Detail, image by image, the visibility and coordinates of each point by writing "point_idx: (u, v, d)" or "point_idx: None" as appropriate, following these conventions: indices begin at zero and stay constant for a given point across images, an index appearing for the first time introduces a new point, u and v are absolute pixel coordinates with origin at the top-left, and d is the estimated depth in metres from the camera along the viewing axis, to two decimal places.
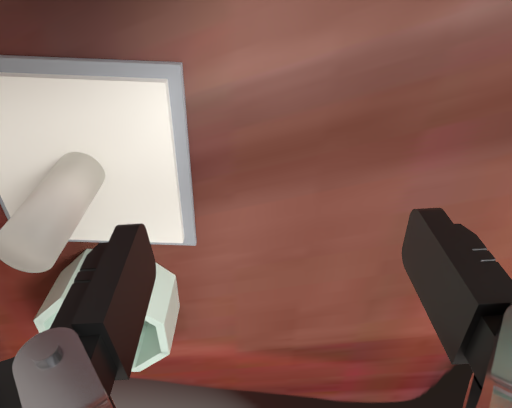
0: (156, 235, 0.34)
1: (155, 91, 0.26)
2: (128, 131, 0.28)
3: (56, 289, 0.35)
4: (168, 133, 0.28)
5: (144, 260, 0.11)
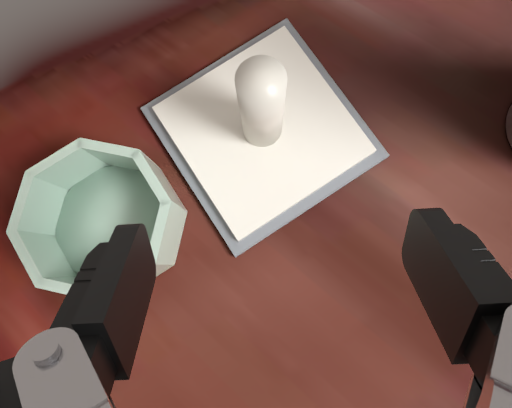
0: (231, 213, 0.33)
1: (366, 147, 0.34)
2: (322, 144, 0.34)
3: None
4: (341, 171, 0.34)
5: (144, 260, 0.11)
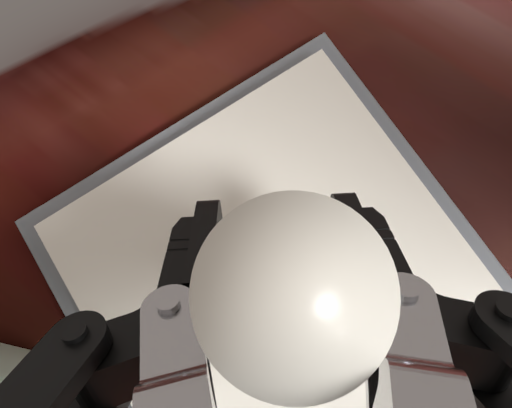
0: None
1: None
2: None
3: None
4: None
5: None
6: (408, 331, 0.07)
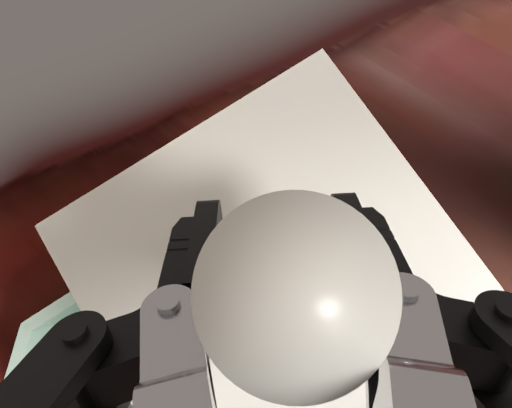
0: None
1: None
2: None
3: None
4: None
5: None
6: (408, 331, 0.07)
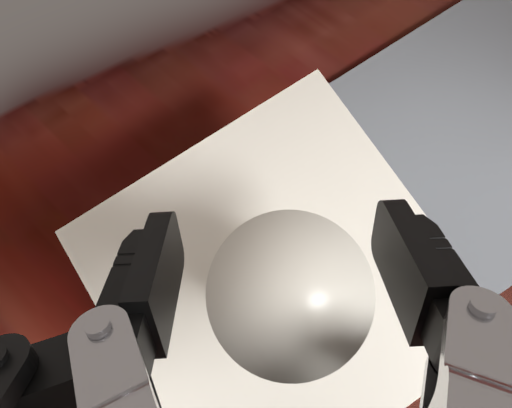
0: None
1: None
2: None
3: None
4: None
5: (176, 247, 0.11)
6: (477, 346, 0.07)
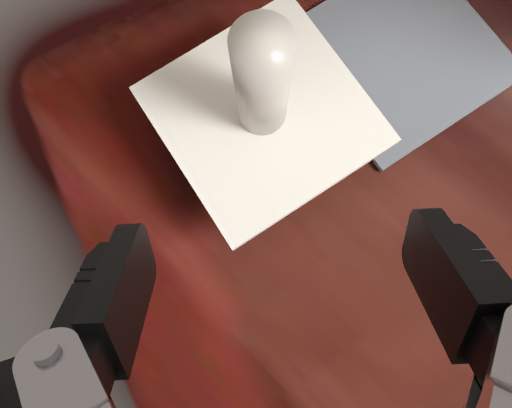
0: (225, 216, 0.27)
1: (388, 135, 0.28)
2: (335, 132, 0.28)
3: None
4: (358, 164, 0.28)
5: (144, 260, 0.11)
6: None
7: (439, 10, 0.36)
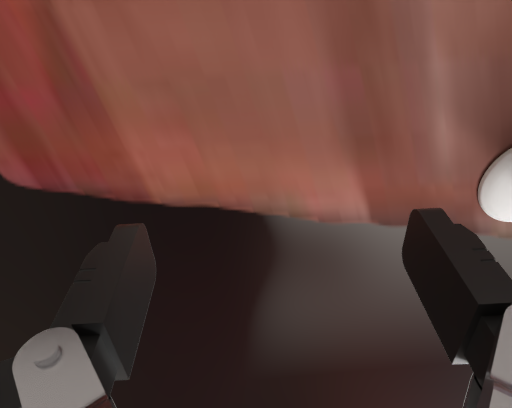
0: None
1: None
2: None
3: None
4: None
5: (145, 260, 0.11)
6: None
7: None
